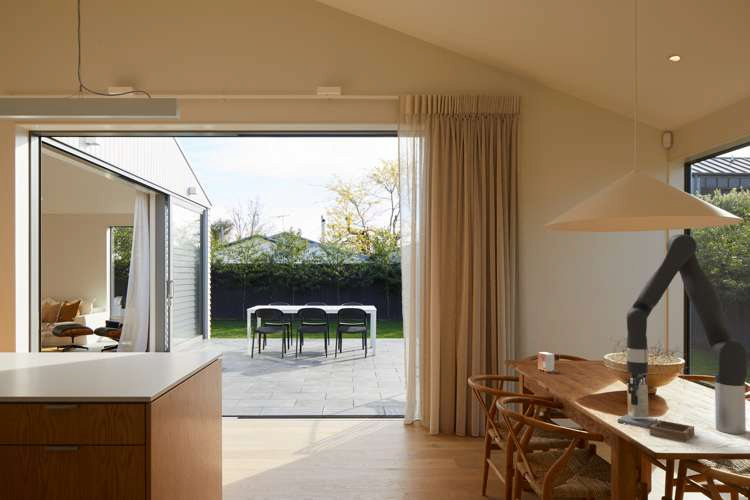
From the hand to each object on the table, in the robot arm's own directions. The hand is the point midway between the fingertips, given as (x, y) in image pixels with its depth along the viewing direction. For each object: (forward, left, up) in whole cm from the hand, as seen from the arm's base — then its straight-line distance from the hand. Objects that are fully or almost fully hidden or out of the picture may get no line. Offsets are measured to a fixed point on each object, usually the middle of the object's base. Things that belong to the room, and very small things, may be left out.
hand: (637, 402), depth 207 cm
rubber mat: (0, 0, -7) cm, 7 cm away
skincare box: (0, 0, -5) cm, 5 cm away
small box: (-72, -72, -8) cm, 102 cm away
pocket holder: (+8, +14, -7) cm, 18 cm away
